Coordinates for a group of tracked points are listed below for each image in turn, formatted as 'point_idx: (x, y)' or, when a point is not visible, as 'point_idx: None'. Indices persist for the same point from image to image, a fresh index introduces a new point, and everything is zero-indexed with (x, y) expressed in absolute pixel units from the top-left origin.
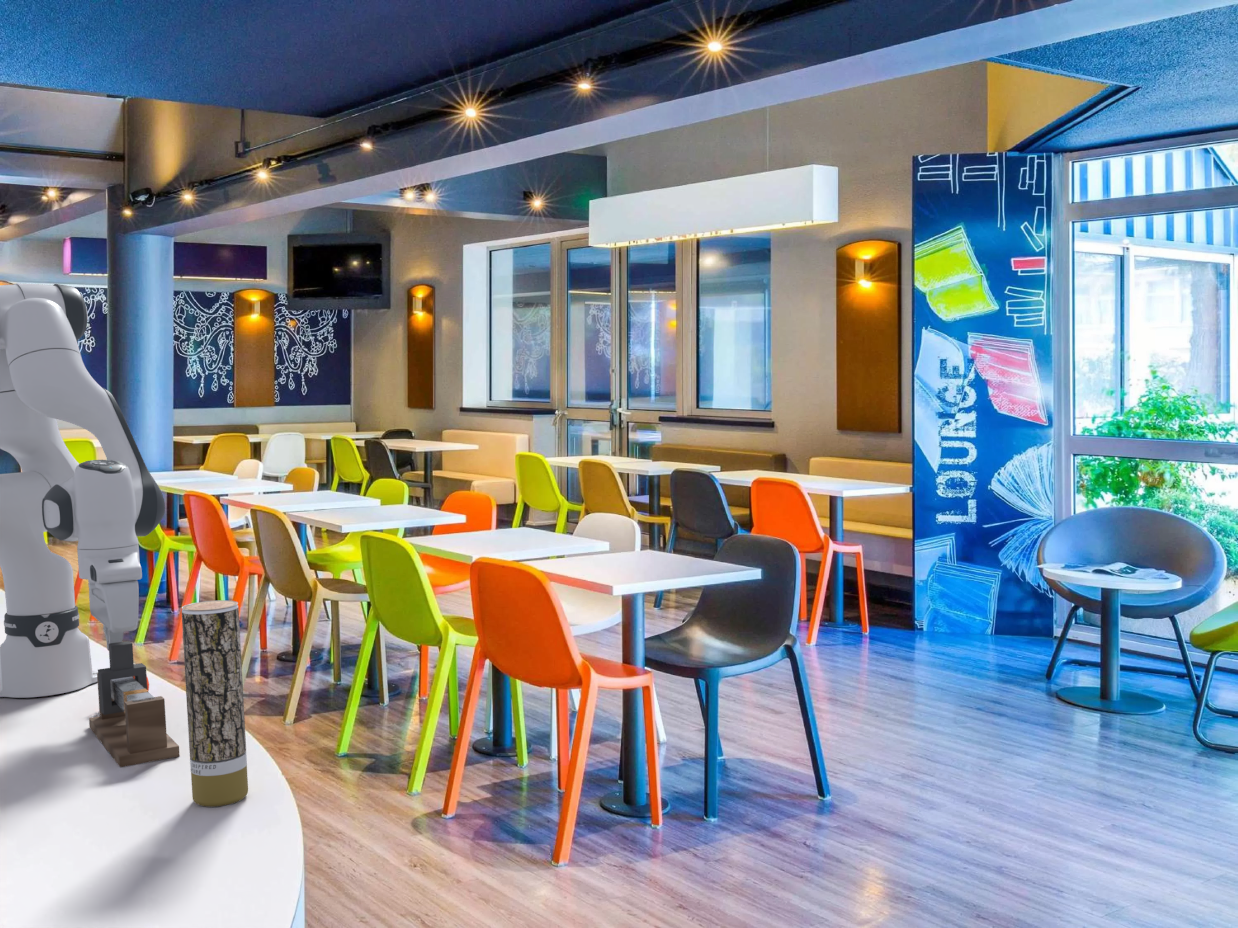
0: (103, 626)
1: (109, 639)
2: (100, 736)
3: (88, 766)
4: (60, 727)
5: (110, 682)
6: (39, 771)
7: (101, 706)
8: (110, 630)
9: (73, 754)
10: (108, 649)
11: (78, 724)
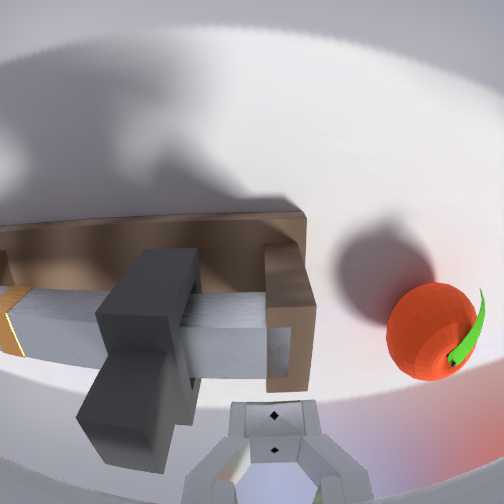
0: (368, 479)
1: (218, 450)
2: (143, 219)
3: (11, 180)
4: (352, 152)
5: (187, 319)
6: (22, 99)
7: (170, 255)
8: (186, 491)
9: (86, 155)
10: (281, 406)
11: (350, 194)
